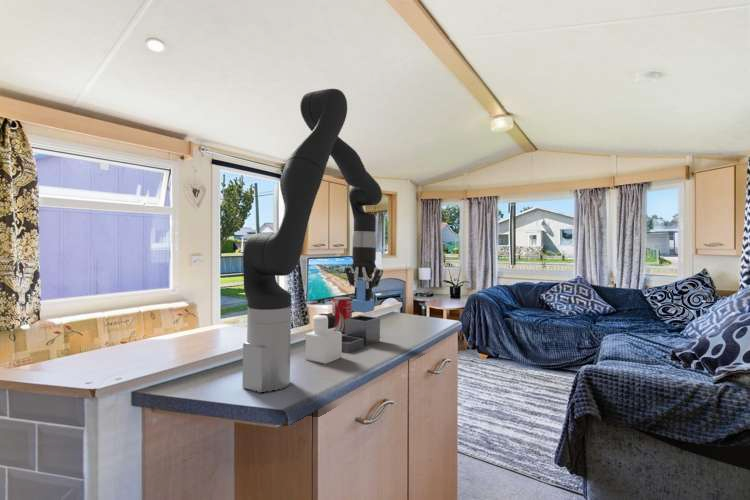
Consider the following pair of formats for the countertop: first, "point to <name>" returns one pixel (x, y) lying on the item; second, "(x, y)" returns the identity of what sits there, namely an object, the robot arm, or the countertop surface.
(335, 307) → the soda can
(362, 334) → the grey square tube
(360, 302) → the plug
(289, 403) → the countertop surface
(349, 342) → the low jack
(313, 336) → the medicine bottle
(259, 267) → the robot arm
